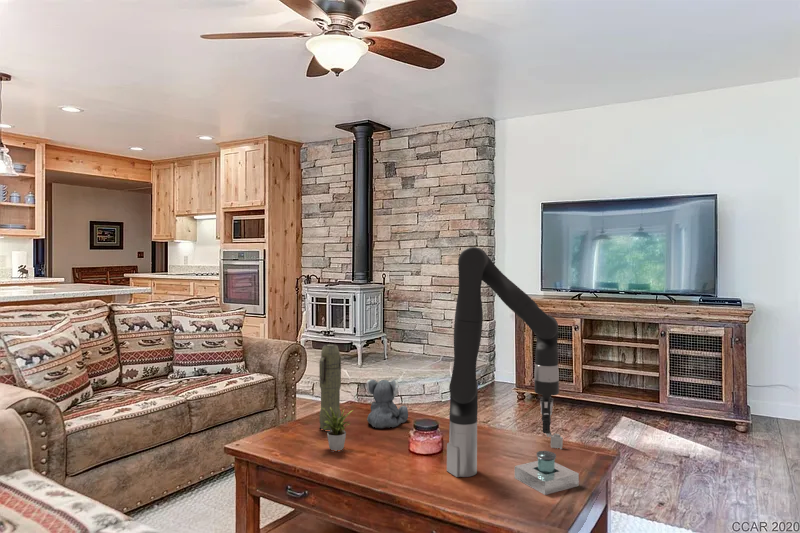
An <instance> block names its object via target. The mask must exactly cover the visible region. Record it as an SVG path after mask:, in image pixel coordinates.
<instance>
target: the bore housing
mask: <svg viewBox="0 0 800 533" xmlns="http://www.w3.org/2000/svg"><path fill="white" fill-rule="evenodd" d="M579 476H580V475H579V472H577V471H574V470H572V469H570V468H568V467H565V466H564V465H562V464H559V463H558V462H555V473H551V474H547V475H545V474H543V473H541V472H539V471H538V460H534V461H531V462H527V463H521V464H517V465H514V479H515V480H517V481H519V482H521V483H522V484H524V485H527V487H530V488H532V489H534V490H535V491H537V492H538V493H541V494H542V495H544V496H546V495H550V494H551V495H552V494H555V493H558V492H561V491H565V490H570V489H573V488H576V487H579V483H580V481H579Z"/></svg>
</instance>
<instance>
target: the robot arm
mask: <svg viewBox="0 0 800 533" xmlns="http://www.w3.org/2000/svg"><path fill="white" fill-rule="evenodd" d="M457 264H458V265H457V267H458V268H457V269H458V270H457V271H458V292H457V298H456V304H455V313H454V324H453V326H454V327H453V366H452V372H451V377H450V378H451V379H450V382H449V386H448V390H449V393H450V394H449V427H448V428H449V432H448V433H449V436H448V438H449V439H448V440H449V442H447V443H446V472H448V473H450V474H451V475H453V476H454V477H455V478H459V477H460V478H461V477H462V478H469V477H474V476H475V475H477V473H478V409H479V408H478V407H479V406H478V402H479V401H478V400H479V399H478V397H479V396H478V392H479V391H478V390H479V387H478V380H477V360H478V357H479V356H478V355H479V351H480V345H481V341H482V333H483V320H484V315H483V314H484V311H483V300H482V293H481V292H482V289H481V288H482V282H484V283H485V284H486V285H487V286H488V287H489V288H490V289H492V291H493V292H494V293H495V294H496V295H497V297H498V298H499V299H500V300H501V301H502V302H503V304H504V305H505V306H507V307H508V308H509V309H510V310H511V311H512V312H513V313H514V314H515V315H517V316H518V318H520V319H521V320H522V321H523V322H524V323H525V324H526V325H527V326H528V327H529V328H530V330H531V331H532V332H533V333H534V334H535V335H536V339H535V340H536V346H535V352H534V354H535V356H534V357H535V358H534V359H535V360H534V362H535V364H534V374H533V375H534V392H535V394H537V395H541V396H542V397H540V398H539V405H540V414H541V422H542V433H543V434H546V433H548V434H549V433H550V432H551V420H552V419H551V418H552V417H551V415H552V414H553V406H554V398H552V396H557V395H558V394H559V393H560V371H559V350H558V342H559V341H558V338H559V324H558V321H557V319H556V318H555V317H553V316H551V315H548V314H547V313H545V311H543V310H542V309H541V308H540V307H539V306H538V304H537V303H536V301H535V300H533V299H532V298H531V297H530V296H529V295H528V294H527V293H526V292H525V291H523V289H521V288H520V287H518V286H517V285H516V284H515V283H514V282H513V281H512V280H510V279H509V278H508V277H507V276H506V275H505V274H504V273H503V272H502V271H501V270H500V269H499V268H498V267H497V266H496V265H495V264H494V262H493V261H492V260H491V258H490V257H489V255H488V254H487V253H486V251H485V250H483V249H482V248H480V247H476V246H469V247H466V248H464V249H463V250H462V251H461V253H460V254H459V256H458V259H457Z"/></svg>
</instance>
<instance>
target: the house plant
mask: <svg viewBox="0 0 800 533" xmlns="http://www.w3.org/2000/svg"><path fill="white" fill-rule="evenodd" d="M322 409H323V408H322ZM330 409H331V412H332V419H331V418H330V416H329V414H328V412H327V411H326V410H325V409H324V410H325V411H326V413H327V415H326V414H325V415H326V416H327V417H328V418H329V419H330V421H331V423H332V424H333V425H332V424H331V423H330V422H329V421H325V422H324V423H327V424H328V425H329V426H330V428H331V429H332V430H330V429H329V428H328V427H329V426H325V427H324V429H326V428H328V429H329V430H330V431H326V432H327V433H326V434H327V441H328V448H330V449H331V450H335V451H337V450H342V449H343V448H345V444H346V443H345V442H346V437H347V436H346V435H347V431H345V428H346V427H347V426H349V425H350V423H349V421H345V419H346V418H347V417H348V416H349V415H350V414H351V412H353V411H354V409H352V410H349V412H348V413H347V414H344V412H345V409H343V410H342V411H341V417H340V418H339V419H338V421H337V416H338V413H337V415H336V416H335V413H334V412H333V410H332V408H331V407H330ZM337 411H338V410H337ZM323 414H324V413H323ZM322 416H323V415H322ZM324 417H325V416H324ZM325 418H326V417H325ZM326 419H327V418H326ZM327 420H328V419H327ZM320 425H322V424H320V423H319V426H320ZM344 425H345V426H344ZM324 429H323V430H324ZM330 449H329V450H330ZM343 450H344V449H343ZM343 450H342V451H343Z"/></svg>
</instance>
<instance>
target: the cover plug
mask: <svg viewBox="0 0 800 533" xmlns="http://www.w3.org/2000/svg"><path fill="white" fill-rule="evenodd" d="M536 458H537V461H538V471H539V472H541V473H543V474H545V475H547V474H551V473H555V463H556V462H555V460H556V458H557V454H556V453H555V452H552V451H549V450H539V451H537V452H536Z"/></svg>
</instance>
